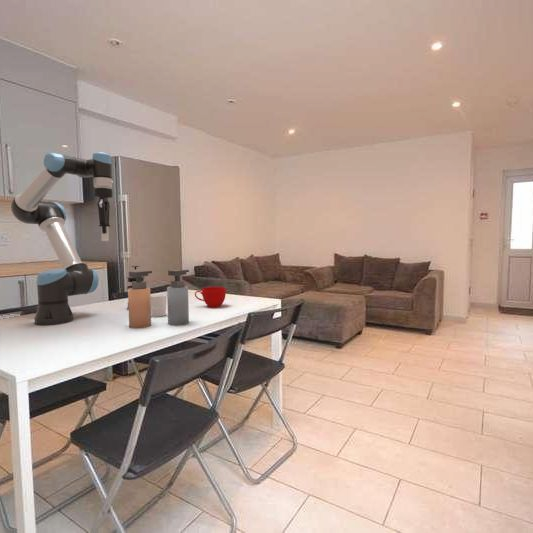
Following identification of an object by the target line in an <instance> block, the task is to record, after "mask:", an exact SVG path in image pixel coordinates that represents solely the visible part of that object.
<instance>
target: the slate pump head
mask: <svg viewBox="0 0 533 533" xmlns="http://www.w3.org/2000/svg"><path fill="white" fill-rule="evenodd" d="M189 272H190V270H189V269H172V270H168V271H167V273H168V274H167V275H168V276H173V277H174V280H175V281H180V280H181V276H184V275H187V273H189Z"/></svg>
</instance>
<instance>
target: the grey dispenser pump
mask: <svg viewBox="0 0 533 533" xmlns="http://www.w3.org/2000/svg"><path fill="white" fill-rule="evenodd" d="M149 274H153V271H152V270H136V271H135V270H133V271H128V277H136V282H142V277H149Z"/></svg>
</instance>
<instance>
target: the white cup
mask: <svg viewBox="0 0 533 533" xmlns="http://www.w3.org/2000/svg"><path fill="white" fill-rule="evenodd" d="M150 298H151V317H155V318H158V317H164V316H166V314H167V294H166V293H165V294H164V293H155V294H150Z"/></svg>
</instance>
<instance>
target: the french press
mask: <svg viewBox="0 0 533 533" xmlns="http://www.w3.org/2000/svg"><path fill="white" fill-rule="evenodd" d="M139 267H140V266H139V265H132V266H131V268H134V271H137V268H139ZM145 278H146V276H142V281H145ZM126 279H127V282H128V283H132V282H135V281H136V277H129V276H128V277H127V276H126ZM129 288H132V285H128V286H126V289H127V290H128V289H129ZM127 310H128V311H129V306H128V305H127Z"/></svg>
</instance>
